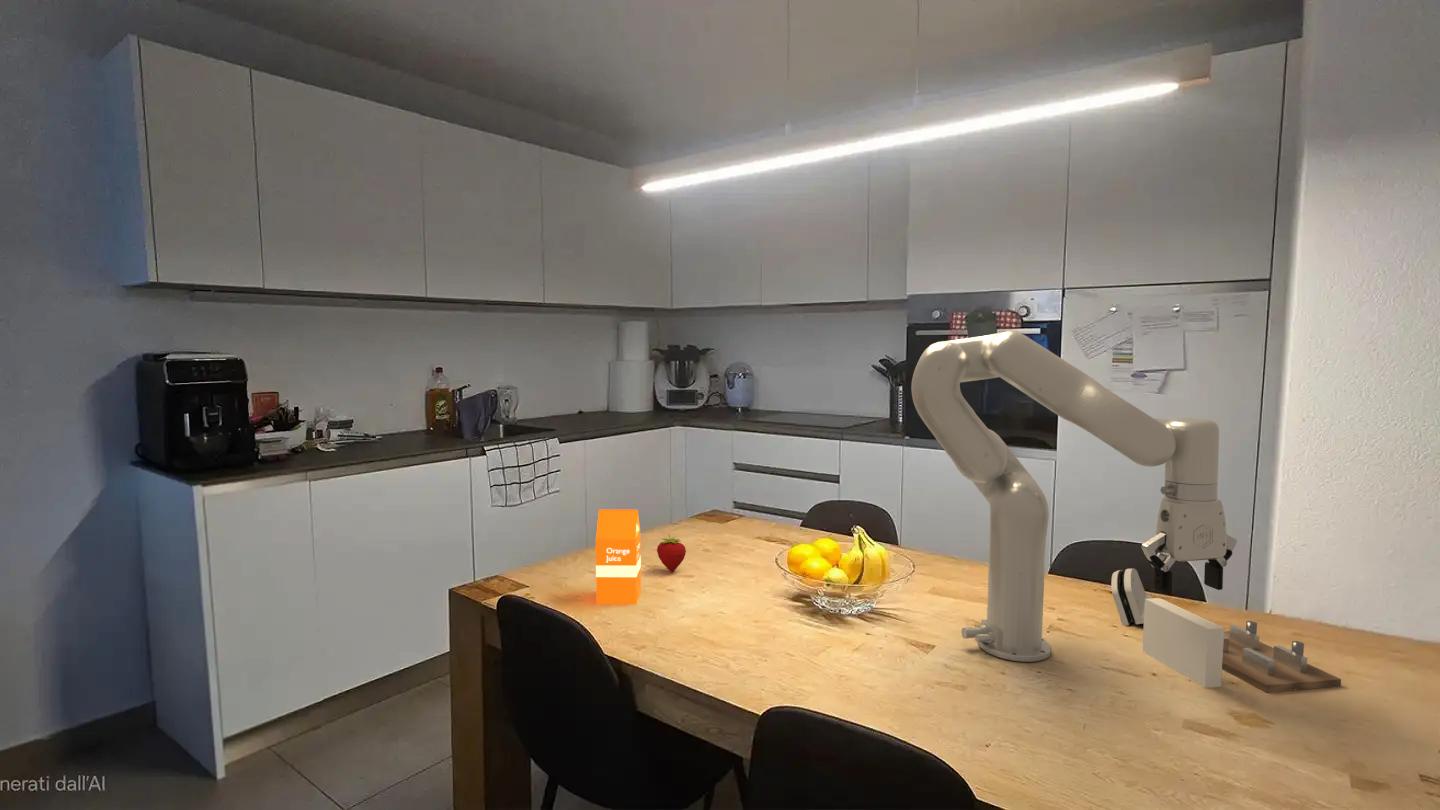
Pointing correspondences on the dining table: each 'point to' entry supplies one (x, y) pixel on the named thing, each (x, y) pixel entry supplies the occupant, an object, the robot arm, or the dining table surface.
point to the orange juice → (618, 557)
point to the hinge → (1129, 596)
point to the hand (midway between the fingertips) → (1188, 589)
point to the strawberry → (671, 553)
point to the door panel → (1183, 642)
